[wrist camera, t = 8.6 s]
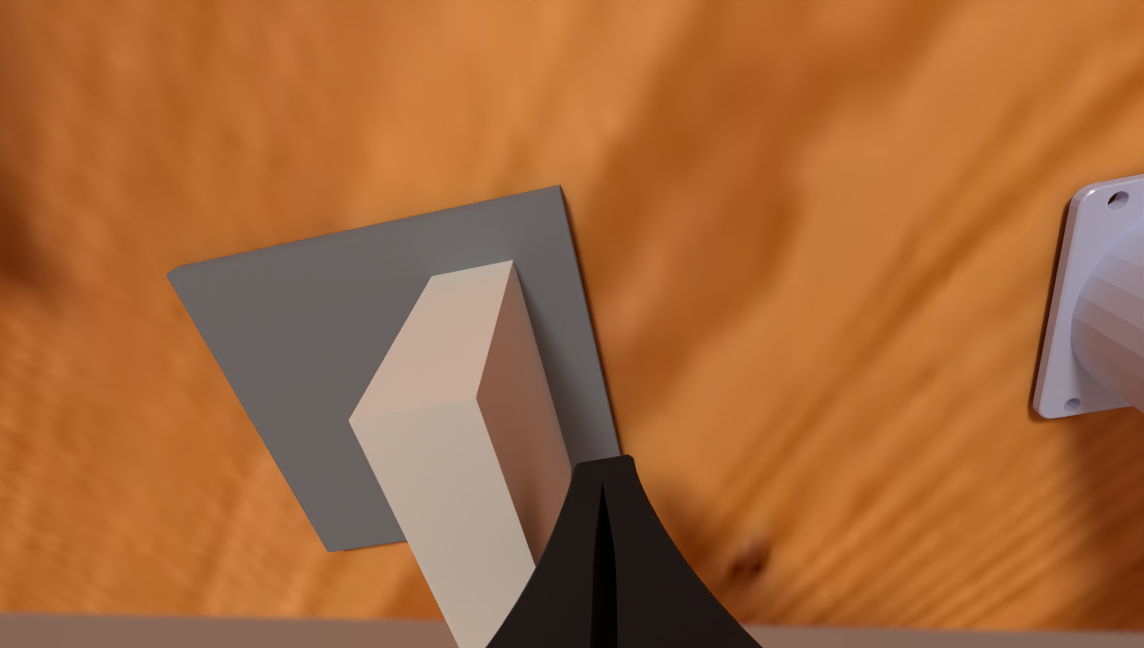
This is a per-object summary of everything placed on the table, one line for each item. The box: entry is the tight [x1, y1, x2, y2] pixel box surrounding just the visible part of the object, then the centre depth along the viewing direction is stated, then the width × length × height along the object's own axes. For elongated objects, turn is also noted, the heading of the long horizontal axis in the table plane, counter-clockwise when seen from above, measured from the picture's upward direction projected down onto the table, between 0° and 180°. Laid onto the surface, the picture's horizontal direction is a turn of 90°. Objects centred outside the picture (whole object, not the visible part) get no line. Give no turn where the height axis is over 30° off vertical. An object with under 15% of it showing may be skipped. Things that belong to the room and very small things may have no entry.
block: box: [349, 260, 571, 648], centre depth 16 cm, size 2×8×7 cm, turn 12°
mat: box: [166, 185, 621, 552], centre depth 19 cm, size 12×12×1 cm
